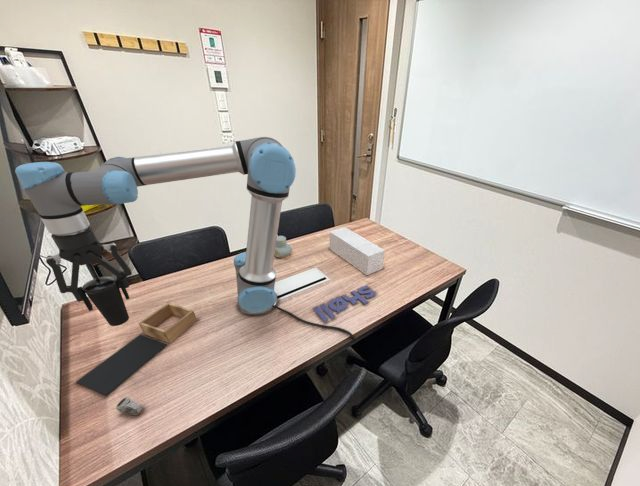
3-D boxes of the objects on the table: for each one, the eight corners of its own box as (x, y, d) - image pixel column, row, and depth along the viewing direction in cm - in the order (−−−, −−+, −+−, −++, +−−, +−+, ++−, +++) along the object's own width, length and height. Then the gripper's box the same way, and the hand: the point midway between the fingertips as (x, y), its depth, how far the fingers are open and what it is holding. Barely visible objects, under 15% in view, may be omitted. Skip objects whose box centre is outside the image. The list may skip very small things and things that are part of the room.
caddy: (197, 320, 106) (193, 310, 104) (170, 343, 97) (165, 332, 94) (172, 312, 109) (168, 302, 107) (143, 333, 100) (138, 323, 97)
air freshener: (268, 254, 150) (266, 237, 144) (280, 248, 155) (278, 232, 150) (283, 261, 144) (281, 244, 139) (294, 255, 150) (293, 238, 145)
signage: (366, 284, 129) (380, 296, 123) (366, 286, 130) (380, 297, 123) (312, 307, 115) (324, 321, 108) (312, 308, 115) (324, 322, 108)
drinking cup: (118, 331, 81) (86, 274, 70) (96, 326, 82) (61, 269, 72) (141, 314, 88) (115, 259, 77) (120, 310, 89) (91, 255, 78)
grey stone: (126, 405, 78) (119, 394, 75) (148, 407, 78) (141, 396, 75) (116, 417, 75) (108, 406, 72) (138, 420, 75) (131, 409, 72)
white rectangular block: (329, 249, 158) (329, 231, 152) (344, 244, 164) (345, 227, 158) (366, 275, 137) (368, 256, 132) (382, 268, 143) (384, 250, 137)
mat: (167, 345, 96) (167, 344, 96) (106, 396, 80) (105, 394, 79) (140, 335, 99) (140, 334, 98) (77, 382, 83) (75, 381, 82)
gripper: (120, 216, 77) (149, 283, 89) (11, 234, 65) (61, 309, 78) (124, 225, 72) (153, 295, 85) (7, 247, 61) (61, 324, 73)
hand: (109, 302), depth 81 cm, fingers closed on drinking cup, 8 cm apart
